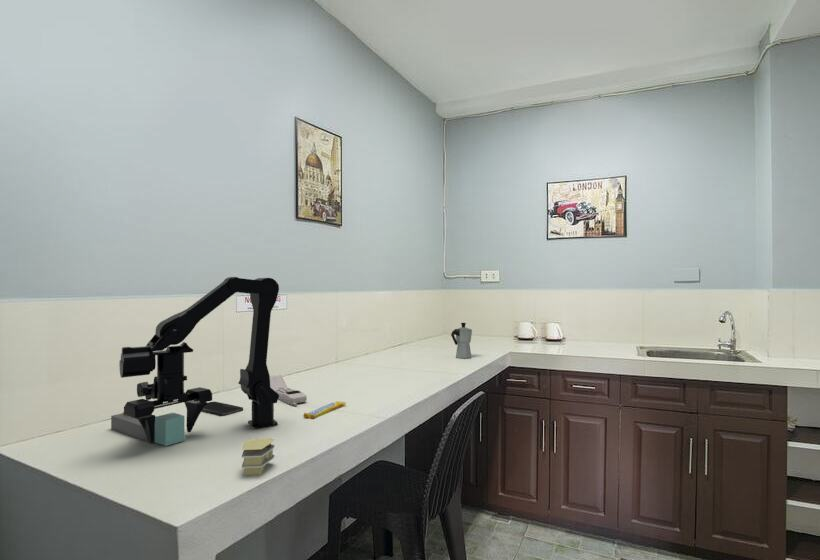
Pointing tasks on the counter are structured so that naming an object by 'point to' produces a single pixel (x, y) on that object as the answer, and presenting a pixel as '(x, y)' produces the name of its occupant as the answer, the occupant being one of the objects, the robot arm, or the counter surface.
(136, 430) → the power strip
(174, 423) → the block
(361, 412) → the counter surface
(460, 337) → the coffee maker
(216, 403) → the phone
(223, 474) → the counter surface
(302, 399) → the mobile phone
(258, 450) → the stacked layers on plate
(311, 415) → the candy bar
